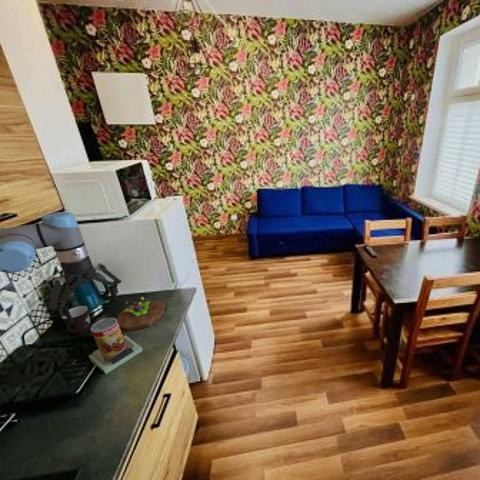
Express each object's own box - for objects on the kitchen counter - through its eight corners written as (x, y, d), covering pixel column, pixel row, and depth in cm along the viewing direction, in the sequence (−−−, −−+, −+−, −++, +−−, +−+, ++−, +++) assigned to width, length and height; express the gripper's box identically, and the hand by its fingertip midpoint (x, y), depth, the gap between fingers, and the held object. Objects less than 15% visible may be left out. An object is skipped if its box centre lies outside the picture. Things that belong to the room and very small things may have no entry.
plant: (155, 329, 120) (149, 308, 116) (108, 334, 117) (99, 313, 113) (171, 302, 138) (166, 284, 134) (130, 306, 135) (124, 287, 131)
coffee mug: (83, 322, 124) (75, 305, 120) (99, 324, 123) (92, 306, 119) (57, 341, 113) (48, 322, 110) (75, 343, 112) (66, 324, 108)
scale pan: (93, 354, 103) (92, 352, 103) (122, 337, 111) (122, 335, 111) (105, 365, 98) (104, 363, 98) (135, 346, 106) (134, 345, 106)
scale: (91, 361, 103) (86, 352, 102) (127, 340, 114) (124, 332, 112) (106, 376, 97) (102, 367, 95) (143, 352, 107) (140, 343, 106)
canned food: (119, 355, 101) (109, 330, 97) (96, 358, 100) (85, 333, 95) (129, 340, 108) (121, 316, 104) (108, 342, 107) (98, 318, 103)
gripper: (25, 278, 76) (53, 336, 84) (121, 248, 96) (136, 297, 104) (17, 271, 80) (44, 327, 88) (111, 243, 100) (127, 291, 108)
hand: (94, 311), depth 96 cm, fingers open, 13 cm apart
